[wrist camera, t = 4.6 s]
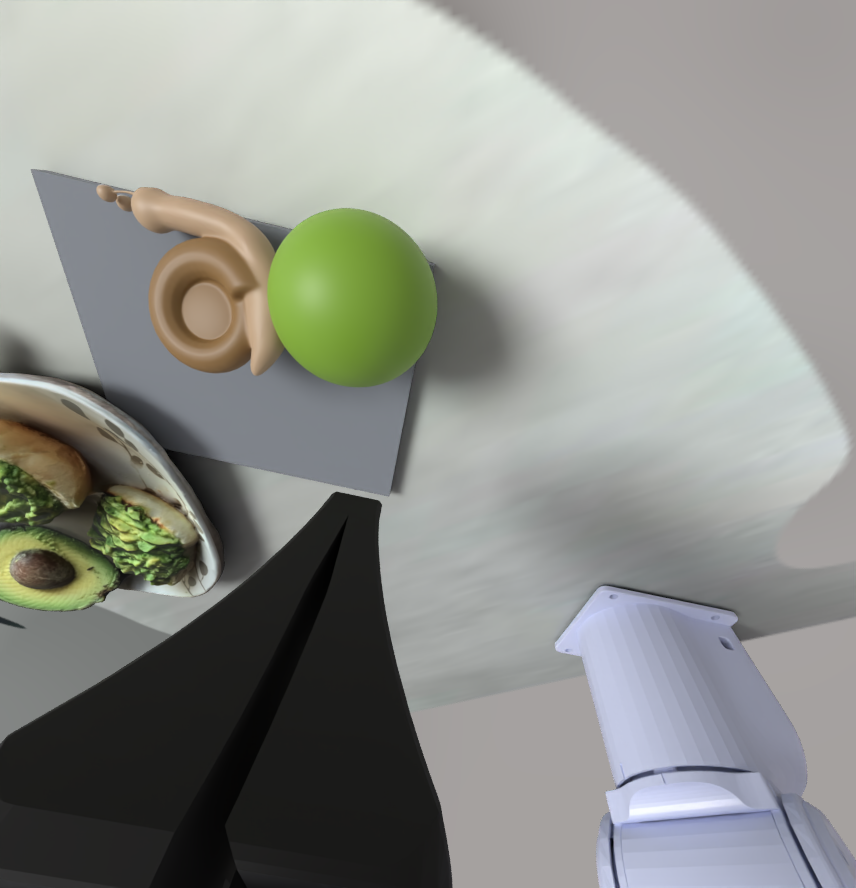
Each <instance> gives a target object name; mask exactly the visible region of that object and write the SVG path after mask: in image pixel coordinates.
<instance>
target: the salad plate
mask: <svg viewBox="0 0 856 888" xmlns="http://www.w3.org/2000/svg"><path fill="white" fill-rule="evenodd" d="M224 564H225V562H224V551H223V544H222V541H221V538H220V535H219V533H218V531H217V530H216V528H215V527H214V526H213V524H212V523H211V521H210V520H209V518H208V517H207V515H206V513H205V511H204V509H203V506H202V504H201V502H200V500H199V499H198V497H197V496H196V495H195V493H194V491H193V489H192V488H191V486H190V485H189V483H188V482H187V481H186V479H185V478H184V477H183V475H182V474H181V472H180V471H179V470H178V468H177V467H176V466H175V465H174V463H173V462H172V461H171V459H170V458H169V456H168V455H167V453H166V452H165V450H164V449H163V448H162V446H161V445H160V444H159V443H158V442H157V441H156V440H155V439H154V437H153V436H152V435H151V433H150V432H149V431H148V430H147V429H146V428H145V427H144V426H143V425H142V424H141V423H140V422H138V421H137V420H136V419H134V418H133V417H131V416H130V415H128V414H127V413H125V412H124V411H122V410H121V409H119V408H118V407H116V406H115V405H113V404H112V403H110V402H109V401H107V400H106V399H104V398H103V397H101V396H99V395H98V394H96V393H94V392H92V391H90V390H88V389H86V388H84V387H82V386H79V385H76V384H74V383H71V382H68V381H65V380H62V379H58V378H53V377H45V376H38V375H30V374H20V373H1V372H0V600H1V601H5V602H8V603H10V604H14V605H16V606H20V607H24V608H29V609H36V610H42V611H61V612H62V611H75V610H83V609H86V608H89V607H91V606H92V605H94V604H95V603H99V602H103V601H105V598H106V596H107V595H108V593H109V592H111V591H113V590H115V589H117V588H119V589H125V590H136V591H142V592H146V593H156V594H161V595H167V596H174V597H196V596H200V595H203V594H204V593H206V592H208V591H209V590H210V589H211V588H212V587H213V586H214V585H215V584H216V582H217V581H218V580H219V578H220V576H221V574H222V572H223V569H224Z"/></svg>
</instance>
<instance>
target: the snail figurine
mask: <svg viewBox="0 0 856 888" xmlns="http://www.w3.org/2000/svg"><path fill="white" fill-rule="evenodd" d="M96 190H97V194H98V195H99V197H100V198H101V199H103V200H104V201H106V202H115V201H116V203H117V205H118V206H119V207H120V208H121V209H122V210H124V211H127V212H131V211H133V214H134V216H135V217H136V219H137V220H138V222H139V223H140V224H141V225H142V226H143V227H145V228H146V229H148V230H149V231H152V232H154V233H159V234H164V233H169V232H171V231H180V232H184V233H187V234H190V235H194V236H197V237H200V238H195V239H190V240H187V241H184V242H182V243H180V244H178V245H176V246H175V247H173V248H172V249H170V250H169V251H168V252H167V253H166V254H165V255H164V256H163V257H162V258H161V260H160V261H159V263H158V265H157V266H156V268H155V270H154V272H153V275H152V278H151V281H150V287H149V294H148V300H149V312H150V317H151V321H152V324H153V326H154V329H155V332H156V333H157V335H158V337H159V339H160V341H161V342H162V344H163V345H164V346H165V347H166V349H167V350H168V351H169V352H170V353H171V354H172V355H173V356H174V357H175V358H176V359H178V360H179V361H180V362H182V363H183V364H185V365H187V366H189V367H191V368H193V369H196V370H199V371H202V372H206V373H226V372H230V371H233V370H236V369H238V368H240V367H242V366H243V365H245V364H246V363H247V362H248V361H249V360H250V359H251V363H250V366H251V371H252V373H253V375H255V376H259V375H261V374H263V373H264V372H266V371H267V370H268V369H269V368H270V367H271V366H272V365H273V364H274V363H275V361H276V360H277V359H278V358H279V356H280V355H281V354H282V352H283V350H284V348H286V349H287V351H288V352H289V353H290V354H291V356H292V357H293V358H294V359H295V360H296V361H297V362H298V363H299V364H300V365H302V366H303V367H304V368H305V369H306V370H308V371H309V372H311V373H312V374H314V375H316V376H317V377H319V378H321V379H323V380H325V381H328V382H331V383H334V384H337V385H341V386H347V387H370V386H376V385H380V384H383V383H386V382H388V381H391V380H393V379H395V378H397V377H398V376H400V375H402V374H403V373H404V372H406V371H407V370H408V369H409V368H410V367H412V366H413V365H414V364H415V363H416V361H417V360H418V359H419V358H420V357H421V355H422V354H423V352H424V351H425V349H426V347H427V345H428V343H429V341H430V339H431V337H432V334H433V331H434V327H435V323H436V317H437V292H436V286H435V281H434V278H433V274H432V271H431V269H430V266H429V264H428V262H427V260H426V258H425V256H424V255H423V253H422V251H421V250H420V248H419V247H418V246H417V244H416V243H415V242H414V241H413V239H412V238H411V237H410V236H409V235H408V234H407V233H406V232H405V231H403V230H402V229H401V228H400V227H399V226H397V225H396V224H394V223H393V222H391V221H390V220H388V219H386V218H384V217H382V216H380V215H377V214H375V213H372V212H369V211H365V210H360V209H351V208H341V209H333V210H328V211H324V212H321V213H318V214H316V215H313V216H311V217H309V218H308V219H306V220H304V221H303V222H301V223H300V224H299V225H297V226H296V227H295V228H294V229H293V230H292V231H291V232H290V233H289V234H288V235H287V236H286V238H285V239H284V240H283V242H282V243H281V245H280V246H279V248H278V250H277V252H276V253H275V251H274V249H273V247H272V245H271V243H270V242H269V240H268V239H267V238H266V236H265V235H264V234H263V233H262V232H261V231H260V230H259V229H258V228H257V227H256V226H255V225H253V224H252V223H251V222H249V221H248V220H246V219H244V218H243V217H241V216H239V215H237V214H235V213H233V212H231V211H229V210H226V209H224V208H221V207H219V206H215V205H212V204H209V203H205V202H201V201H198V200H194V199H190V198H186V197H179V196H172V195H169V194H167V193H166V192H164V191H162V190H160V189H157V188H148V187H141V188H139V189H137V190H136V191H135V192H131V191H119V190H116V191H115V190H114V189H113V188H112V187H110V186H108V185H105V184H100V185H98V186H97V189H96ZM117 193H128V194H131V195H133V196H132V198H130V197H128V196H126V195H118V196H117Z"/></svg>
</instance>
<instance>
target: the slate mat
mask: <svg viewBox="0 0 856 888" xmlns="http://www.w3.org/2000/svg"><path fill="white" fill-rule="evenodd" d="M31 172H32V175H33V178H34V181H35V184H36V187H37V190H38V193H39V196H40V199H41V202H42V205H43V208H44V211H45V214H46V217H47V220H48V223H49V226H50V229H51V233H52V236H53V239H54V242H55V245H56V248H57V251H58V254H59V257H60V260H61V263H62V266H63V269H64V272H65V275H66V278H67V281H68V284H69V287H70V290H71V293H72V296H73V299H74V302H75V305H76V308H77V311H78V315H79V318H80V321H81V324H82V327H83V330H84V333H85V336H86V339H87V342H88V345H89V348H90V351H91V354H92V357H93V360H94V363H95V366H96V369H97V372H98V375H99V378H100V381H101V384H102V387H103V390H104V393H105V396H106V400H107V401H109V402H110V403H112V404H113V405H115V406H116V407H118V408H119V409H121V410H122V411H124V412H125V413H127V414H128V415H130V416H131V417H133V418H134V419H136V420H137V421H138V422H140V423H141V424H142V425H143V426H144V427H145V428H146V429H147V430H148V431H149V432H150V433H151V435H152V436H153V437H154V439H155V440H156V441H157V442H158V443H159V444H160V445H161V446H162V448H163V449H167V450H172V451H177V452H181V453H186V454H191V455H195V456H200V457H205V458H210V459H214V460H219V461H224V462H228V463H233V464H238V465H243V466H247V467H252V468H257V469H262V470H266V471H271V472H276V473H280V474H285V475H290V476H295V477H299V478H304V479H309V480H313V481H318V482H323V483H328V484H332V485H337V486H342V487H347V488H351V489H356V490H361V491H365V492H370V493H375V494H380V495H384V496H389V495H390V491H391V487H392V482H393V476H394V471H395V466H396V461H397V456H398V451H399V445H400V440H401V435H402V430H403V425H404V420H405V414H406V409H407V404H408V399H409V394H410V389H411V384H412V378H413V373H414V368H415V364H414V365H413V366H412V367H410V368H409V369H408V370H407V371H406V372H404V373H403V374H402V375H400V376H398V377H397V378H395V379H393V380H391V381H388V382H386V383H383V384H380V385H376V386H370V387H347V386H341V385H337V384H334V383H331V382H328V381H325V380H323V379H321V378H319V377H317V376H316V375H314V374H312V373H311V372H309V371H308V370H306V369H305V368H304V367H303V366H302V365H300V364H299V363H298V362H297V361H296V360H295V359H294V358H293V357H292V356H291V354H290V353H289V352H288V351H287V349H286V348H284V350H283V352H282V354H281V355H280V356H279V358H278V359H277V360H276V361H275V363H274V364H273V365H272V366H271V367H270V368H269V369H268V370H267V371H266V372H264V373H263V374H261V375H259V376H255V375H253V373H252V371H251V366H250V363H251V359H250V360H249V361H248V362H247V363H246V364H245V365H243V366H242V367H240V368H238V369H236V370H233V371H230V372H226V373H206V372H202V371H199V370H196V369H193V368H191V367H189V366H187V365H185V364H183V363H182V362H180V361H179V360H178V359H176V358H175V357H174V356H173V355H172V354H171V353H170V352H169V351H168V350H167V349H166V347H165V346H164V345H163V344H162V342H161V341H160V339H159V337H158V335H157V333H156V332H155V329H154V326H153V324H152V321H151V317H150V312H149V300H148V294H149V287H150V281H151V278H152V275H153V272H154V270H155V268H156V266H157V265H158V263H159V261H160V260H161V258H162V257H163V256H164V255H165V254H166V253H167V252H168V251H169V250H170V249H172V248H173V247H175V246H176V245H178V244H180V243H182V242H184V241H187V240H190V239H195V238H200V237H197V236H194V235H190V234H187V233H184V232H180V231H171V232H169V233H164V234H159V233H154V232H152V231H149V230H148V229H146V228H145V227H143V226H142V225H141V224H140V223H139V222H138V220H137V219H136V217H135V216H134V214H133V211H131V212H127V211H124V210H122V209H121V208H120V207H119V206H118V205H117V203H116V201H115V202H106V201H104V200H103V199H101V198H100V197H99V195H98V194H97V190H96V189H97V186H98V185H100V184H101V183H96V182H92V181H88V180H84V179H80V178H76V177H71V176H67V175H63V174H59V173H55V172H51V171H46V170H35V169H31ZM108 186H109V185H108ZM110 187H112V188H113V189H114V190H115V191H116V190H119V191H130V190H126V189H121V188H117V187H113V186H110ZM131 192H134V191H131ZM118 195H126V196H128V197H130V198H132V196H133V195H131V194H128V193H117V196H118ZM244 219H246V220H248V221H249V222H251V223H252V224H253V225H255V226H256V227H257V228H258V229H259V230H260V231H261V232H262V233H263V234H264V235H265V236H266V238H267V239H268V240H269V242H270V243H271V245H272V247H273V249H274V251H275V253H276V252H277V250H278V248H279V246H280V245H281V243H282V242H283V240H284V239H285V238H286V236H287V235H288V234H289V233H290V232H291V231H292V230H293V229H288V228H284V227H280V226H276V225H272V224H268V223H263V222H259V221H255V220H251V219H247V218H244ZM428 264H429V266H430V269H431V271H432V274H433V270H434V265H435V264H434V263H430V262H428Z"/></svg>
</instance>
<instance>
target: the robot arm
mask: <svg viewBox="0 0 856 888" xmlns="http://www.w3.org/2000/svg"><path fill="white" fill-rule="evenodd" d="M381 507H382V504H381V503H380V501H378V500H374V499H369V498H364V497H359V496H355V495H350V494H345V493H340V492H335V493H333V494H332V495H331V496H330V497H329V499H328V500H327V501H326V502H325V503H324V505H323V506H322V507H321V508H320V509H319V511H318V512H317V513H316V514H315V515H314V516H313V517H312V518H311V519H310V520H309V521H308V523H307V524H306V525H305V526H304V527H303V528H302V529H301V530H300V531H299V532H298V533H297V534H296V535H295V536H294V537H293V538H292V539H291V540H290V541H289V542H288V543H287V544H286V545H285V546H284V547H283V548H282V549H281V550H280V551H278V552H277V553H276V554H275V555H274V556H273V557H272V558H271V559H270V560H268V561H267V562H266V563H265V564H264V565H263V566H262V567H261V568H260V569H258V570H257V571H256V572H255V573H254V574H253V575H252V576H250V577H249V578H248V579H247V580H246V581H244V582H243V583H242V584H241V585H240V586H238V587H237V588H236V589H235V590H233V591H232V592H231V593H229V594H228V595H227V596H226V597H224V598H223V599H222V600H221V601H219V602H218V603H217V604H215V605H214V606H213V607H211V608H210V609H209V610H207V611H206V612H204V613H203V614H202V615H200V616H199V617H198V618H196V619H195V620H193V621H192V622H191V623H189V624H188V625H187V626H185V627H184V628H182V629H181V630H179V631H178V632H177V633H175V634H174V635H172V636H171V637H169V638H168V639H166V640H165V641H164V642H162V643H160V644H159V645H157V646H156V647H154V648H152V649H151V650H149V651H148V652H146V653H145V654H143V655H142V656H140V657H138V658H137V659H135V660H134V661H132V662H131V663H129V664H128V665H126V666H124V667H123V668H121V669H120V670H118V671H117V672H115V673H114V674H112V675H111V676H109V677H107V678H105V679H104V680H102V681H101V682H99V683H97V684H96V685H94V686H92V687H91V688H89V689H88V690H85V691H84V692H82V693H80V694H79V695H77V696H75V697H73V698H72V699H70V700H68V701H66V702H65V703H63V704H61V705H59V706H58V707H56V708H54V709H53V710H51V711H49V712H47V713H46V714H44V715H42V716H41V717H39V718H37V719H35V720H34V721H32V722H30V723H28V724H27V725H25V726H23V727H21V728H20V729H18V730H16V731H14V732H13V733H11V734H10V735H8V736H7V737H6V738H5V739H4V741H2V743H1V744H0V888H452V873H451V864H450V857H449V851H448V844H447V838H446V833H445V828H444V822H443V817H442V811H441V805H440V802H439V799H438V796H437V793H436V790H435V787H434V785H433V782H432V779H431V776H430V773H429V771H428V768H427V764H426V761H425V759H424V756H423V753H422V750H421V747H420V743H419V740H418V737H417V734H416V731H415V727H414V724H413V721H412V718H411V715H410V711H409V708H408V704H407V700H406V697H405V693H404V689H403V686H402V682H401V678H400V675H399V671H398V667H397V663H396V659H395V655H394V650H393V646H392V642H391V637H390V632H389V627H388V622H387V616H386V611H385V605H384V598H383V591H382V583H381V574H380V562H379V545H378V531H379V518H380V513H381ZM737 621H738V617H737V616H736V614H735V613H734V612H731V611H727V610H722V609H717V608H712V607H708V606H703V605H698V604H693V603H688V602H683V601H679V600H674V599H669V598H664V597H659V596H654V595H649V594H645V593H640V592H635V591H630V590H625V589H620V588H616V587H611V586H601V587H599V588H598V589H597V590H596V591H595V593H594V594H593V595H592V596H591V598H590V599H589V600H588V602H587V603H586V604H585V605H584V607H583V608H582V609H581V611H580V612H579V613H578V615H577V616H576V617H575V618H574V620H573V621H572V622H571V624H570V625H569V626H568V627H567V629H566V630H565V631H564V633H563V634H562V635H561V636H560V638H559V639H558V640H557V642H556V643H555V649H556V650H557V651H558V652H562V653H567V654H572V655H577V656H582V660H583V663H584V667H585V671H586V675H587V679H588V682H589V686H590V690H591V694H592V698H593V701H594V705H595V709H596V713H597V717H598V721H599V725H600V728H601V732H602V736H603V739H604V744H605V748H606V751H607V755H608V759H609V763H610V767H611V771H612V774H613V778H614V782H615V786H616V789H615V790H610V791H606V792H605V794H606V798H607V802H608V806H609V810H610V812H608V813H606V814H605V815H604V816H603V818H602V820H601V823H600V828H599V835H598V839H597V847H596V860H597V861H596V862H597V873H598V880H599V886H600V888H856V860H855V859H854V857H853V855H852V854H851V852H850V851H849V849H848V848H847V846H846V845H845V843H844V842H843V840H842V839H841V837H840V836H839V834H838V833H837V831H836V830H835V829H834V827H833V826H832V824H831V823H830V821H829V820H828V819H827V817H826V816H825V815H824V814H823V813H822V812H821V811H820V810H819V809H817V808H816V807H814V806H813V805H811V804H809V803H808V802H806V801H804V800H803V798H802V797H801V796H802V794H803V792H804V790H805V787H806V784H807V765H806V759H805V755H804V751H803V748H802V745H801V742H800V739H799V737H798V735H797V732H796V730H795V728H794V727H793V725H792V723H791V721H790V720H789V718H788V717H787V715H786V713H785V712H784V710H783V709H782V707H781V705H780V704H779V702H778V701H777V699H776V698H775V696H774V694H773V693H772V691H771V690H770V688H769V687H768V685H767V683H766V682H765V680H764V679H763V677H762V676H761V674H760V672H759V671H758V669H757V668H756V666H755V665H754V663H753V661H752V660H751V658H750V657H749V655H748V654H747V652H746V650H745V649H744V647H743V646H742V644H741V642H740V641H739V639H738V638H737V636H736V635H735V633H734V631H733V630H732V628H731V626H732V625H733V624H735V623H736V622H737Z"/></svg>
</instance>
